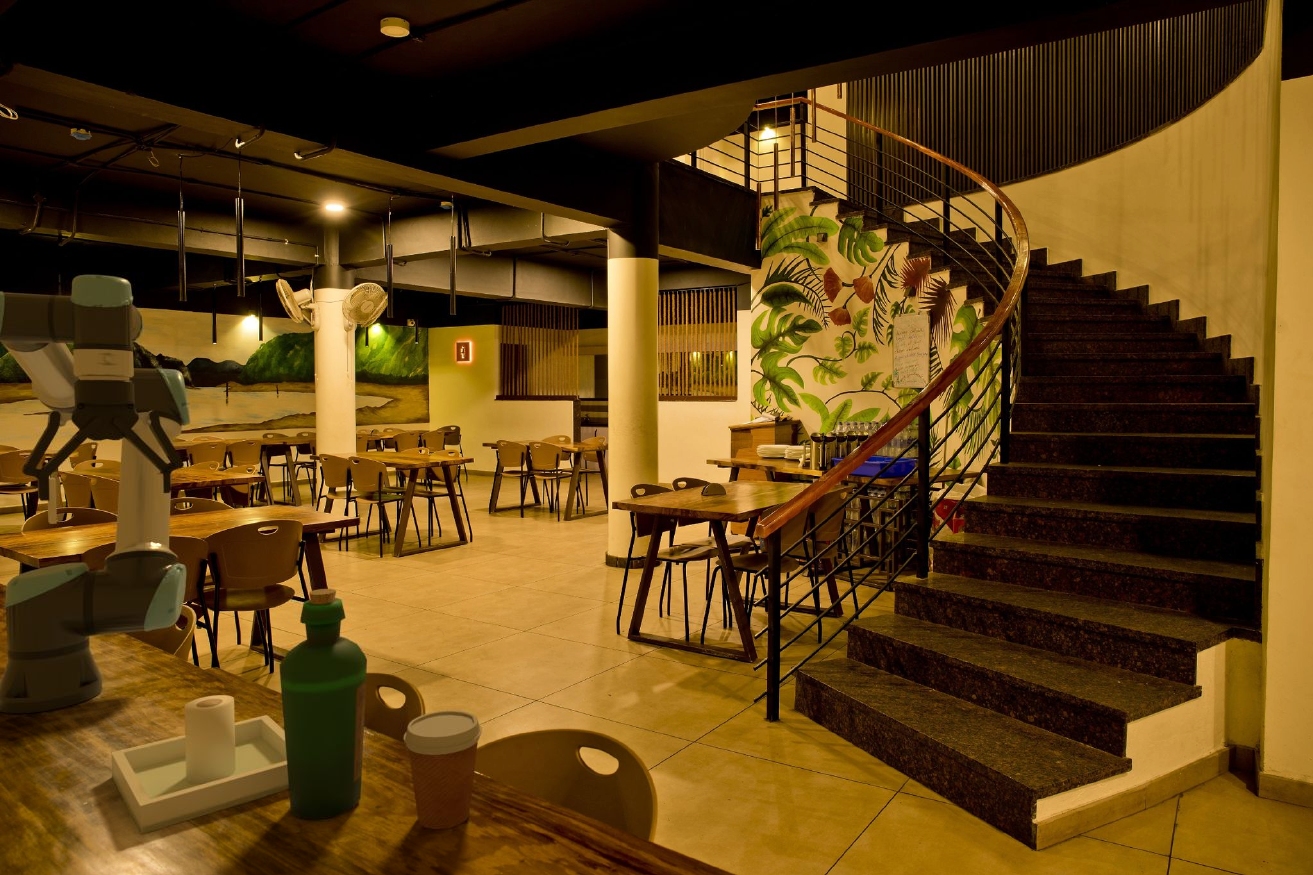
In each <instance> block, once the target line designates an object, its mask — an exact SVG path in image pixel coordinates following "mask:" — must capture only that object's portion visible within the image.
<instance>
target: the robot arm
mask: <svg viewBox="0 0 1313 875" xmlns="http://www.w3.org/2000/svg"><path fill="white" fill-rule="evenodd" d="M132 292H133V291H132V284H131V283H130V281H129V280H128V279H127V278H126V279H125V278H122V277H118V276H113V275H112V276H111V275H102V274H82V275H78V276H75V277H74V278H73V279H72V282H71V295H52V294H51V295H50V294H34V293H19V292H4V291H0V342H1V344H2V345H3V346H4V347H5V349H6V350H7V351H8V352H9V353H10V355H11V356H12V357H13V359H14V360H15V361H16V363H18V365H19V366H20V368H21V369H22V370H23V371H24V373H25V374H26V375H27V377H29V379H30V380H31V389H32V392H33V394H34V396H35V397H36V398H37V399H38V401H40V403H41V404H43V405H44V406H45V407H47V409H49V410H51V411H50V412H49V413H48V418H47V425H46V428H45V429H44V431H43V433H42V434H41V435H40V437H39V439H38V441H37V442H36V444H35V446H34V448H33V449H32V451H31V453H30V454H29V456H28V458H27V459H26V461H25V463H24V464H23V466H22V468H21V472H22V474H24V475H26V476H29V477H34V478H36V479H37V496H38V499H39V500H40V502H45V501H47V515H48V516H47V517H48V518H47V519H48V523H49V524H51V525H52V524H56V525H57V524H58V518H57V517H58V515H57V514H58V512H57V511H58V510H57V483H56V482H57V478H54V477H50V476H52V474H53V473H54V472H56V470H57V469H58V468H59V467H60V466H61V465H62V464H63V463H64V462H65V461H66V460H67V459H68V458H69V457H70V456H71V455H72V454H73V453H74V452H75V451H76V450H77V449H78V448H79V447H80V446H81V445H82V444H83V443H84V442H86V440H87V439H88V440H91V441H95V442H98V441H99V442H102V441H106V440H108V441H109V440H110V441H120V440H121V453H120V465H119V466H120V469H119V486H118V487H119V488H118V500H117V515H116V519H117V520H116V533H115V534H116V535H115V549H114V551H113V552H111V553H110V554H108V555H107V556H106V557H105V559H104V567H103V569H97V570H90V566H88V564H87V563H86V562H82V561H81V562H68V563H67V562H66V563H63V564H57V565H56V564H55V565H50V566H47V567H40V568H38V569H33V570H30V571H26V572H23V573H20V574H18V575H16V576H14V577H13V578H11V579H10V580H9V581H8V582H7V584H6V592H5V603H4V607H5V618H6V620H5V624H6V648H7V649H6V650H7V661H6V665H5V668H4V671H3V673H2V676H1V679H0V712H2V713H7V714H29V713H30V714H31V713H41V712H47V711H51V710H57V709H62V708H66V707H69V706H74V705H76V704H79V703H83V702H85V701H88V700H90V699H93V698H94V697H96V696H98V695H99V694H101V692H102V691H103V676H102V674H101V671H100V669H99V667H98V665H97V663H96V661H95V658H94V655H93V654H92V652H91V648H90V646H91V645H90V636H91V637H94V636H99V635H100V636H101V635H102V636H103V635H113V634H121V633H123V634H124V633H134V632H141V631H143V632H144V631H145V632H149V631H152V630H158V629H159V630H160V629H164V628H165V629H167V628H170V627H172V626H173V625H175V623H177V621H179V618H180V615H181V613H182V609H183V605H184V601H185V600H184V599H185V594H186V587H187V586H186V583H187V582H186V581H187V567H186V565H185V564H182V563H179V562H178V560H179V559H178V558H179V557H178V555H177V554H176V553H175V552H173V550H171V549H170V529H171V528H170V527H171V526H170V524H171V498H172V497H171V496H172V495H171V494H172V472H173V471H176V470H179V469H182V468H184V466H185V465H184V464H185V463H184V462H183V459H182V458H181V456H180V455H179V453H178V452H177V450H176V448H175V446H174V444H173V441H174V440H175V439H176V438H178V437H179V436H180V435H181V434H182V430H183V428H182V426H183V427H184V426H187V425H190V423H191V417H190V416H191V415H190V409H189V403H188V396H187V390H186V385H185V378H184V375H183V373H182V372H181V371H179V370H178V369H171V368H170V369H169V368H160V367H155V368H134V345H133V343H134V342H135V343H136V341H137V340H138V339H140V338H141V337H142V336H141V335H142V333H143V332H144V325H145V324H144V320H143V316H142V314H141V312H140V311H139V309H138V308H137V307H136V306H135V305H134V304H133V300H134V296H133V294H132ZM67 344H72V345H73V347H72V348H73V349H72V350H73V351H72V352H73V353H71V351H70V349H69V347H68V346H67ZM69 421H71V423H73V424H74V426H76V427H77V429H78V430H77V431H76V432H75V433H74V435H72V436H71V438H70V439H69V440H68V441H67V442H66V443H65V444H64V445H63V446H62V447H61V448H60V449H59V450H58V451H57V452H56V453H55V454H54V455H52V457H51V458H50V459H49V460H48V461H47V462H46V463H45V464H44V466H42V467H41V468H37V467H38V465H39V464H40V462H41V460H42V458H43V457H44V455H45V454H46V453H47V452H46V451H47V450H48V448H49V446H50V445H51V443H52V441H53V440H54V438H55V437H56V434H57V433H58V431H59V429H60V427H64V426H66V424H67V423H68V422H69Z"/></svg>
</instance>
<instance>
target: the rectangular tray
mask: <svg viewBox="0 0 1313 875" xmlns="http://www.w3.org/2000/svg"><path fill="white" fill-rule="evenodd" d="M235 764H236V770H235V772H234V773H233V774H232V775H231V776H229V777H227V778H223V779H220V780H216V781H213V782H209V783H206V784H192V783H189V782H187V780H186V749H185V734H182V735H179V736H175V737H169V738H166V739H162V740H158V741H154V742H149V743H145V744H142V745H138V746H134V747H133V746H132V747H129V748H124V749H120V750H116V751H113V752H111V778H112V780H113V782H114V784H115V786H116V788H117V790H118V792H119V794H120V795H121V798H122V800H123V799H124V800H123V801H124V805H126V807H127V809H128V812H129V814H130V816H131V818H132V819H133V821H134V823H135V825H136V827H137V830H138V832H139V834H140V835H143V834H147V833H149V832H153V831H156V830H160V829H163V828H166V827H170V826H173V825H177V824H179V823H183V822H186V821H190V820H193V819H197V818H199V817H203V816H205V815H209V814H212V813H216V812H218V811H222V810H225V809H229V808H232V807H235V806H239V805H242V804H246V803H249V802H252V801H255V800H258V799H261V798H265V797H268V795H269V796H271V795H272V796H273V795H274V794H278V793H281V792H284V791H289V782H288V770H287V757H286V744H285V731H284V728H282V726H280V725H279V724H278V723H276V722H275V721H274V720H273V719H272V717H270V716H269V715H268V714H264V715H261V716H257V717H254V718H253V717H252V718H248V719H244V720H241V721H235Z"/></svg>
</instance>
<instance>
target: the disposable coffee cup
mask: <svg viewBox="0 0 1313 875" xmlns="http://www.w3.org/2000/svg"><path fill="white" fill-rule="evenodd" d="M482 731H483V729H482V726H481V725H480V723H479V719H478V718H477V716H476V715H475V714H473V713H471V712H469V711H463V710H440V711H439V710H438V711H433V712H429V713H425V714H422V715H420V716H418V717H417V716H416V718H415V717H414V719H412V720H411V721H409V723H408V725H407V729H406V731H405V733H404V735H403V742H404V743H405V746H406V748H407V751H408V758H409V765H410V772H411V780H412V785H413V793H414V799H415V808H416V814H417V822H418V824H419V825H420V826H422V827H423V828H425V829H431V830H443V829H450V828H454V827H457V826H459V825H461V824H463V823H464V822H465V821H466V820H467V819H468V818H469V817H470V814H471V813H470V812H471V811H470V810H471V803H472V794H473V786H474V777H475V770H476V768H475V767H476V758H477V753H478V752H477V751H478V744H479V743H478V742H479V741H480V737H481V735H482V733H483V732H482Z"/></svg>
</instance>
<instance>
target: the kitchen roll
mask: <svg viewBox="0 0 1313 875" xmlns="http://www.w3.org/2000/svg"><path fill="white" fill-rule="evenodd" d="M183 708H184V735H185V749H186V780H187V782H189V783H192V784H206V783H209V782H213V781H216V780H220V779H223V778H227V777H229V776H231V775H232V774H233V773H234V772H235V770H236V764H235V723H236V721H235V720H236V719H235V698H234V697H233V696H230V695H225V694H223V695H222V694H220V695H219V694H218V695H209V696H203V697H199V698H197V699H193V700H191V701H189V702H188V703H186V704H185V705H184V707H183Z"/></svg>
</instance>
